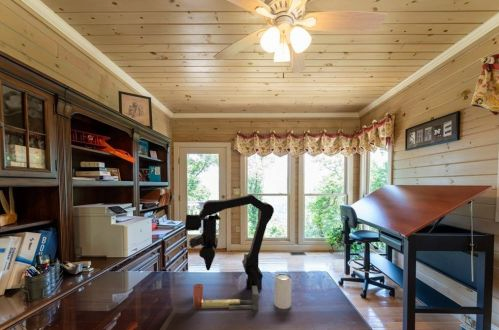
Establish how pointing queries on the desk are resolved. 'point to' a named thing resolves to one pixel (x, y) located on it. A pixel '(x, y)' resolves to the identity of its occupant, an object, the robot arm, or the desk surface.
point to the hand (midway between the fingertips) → (209, 265)
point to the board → (248, 301)
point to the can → (282, 291)
